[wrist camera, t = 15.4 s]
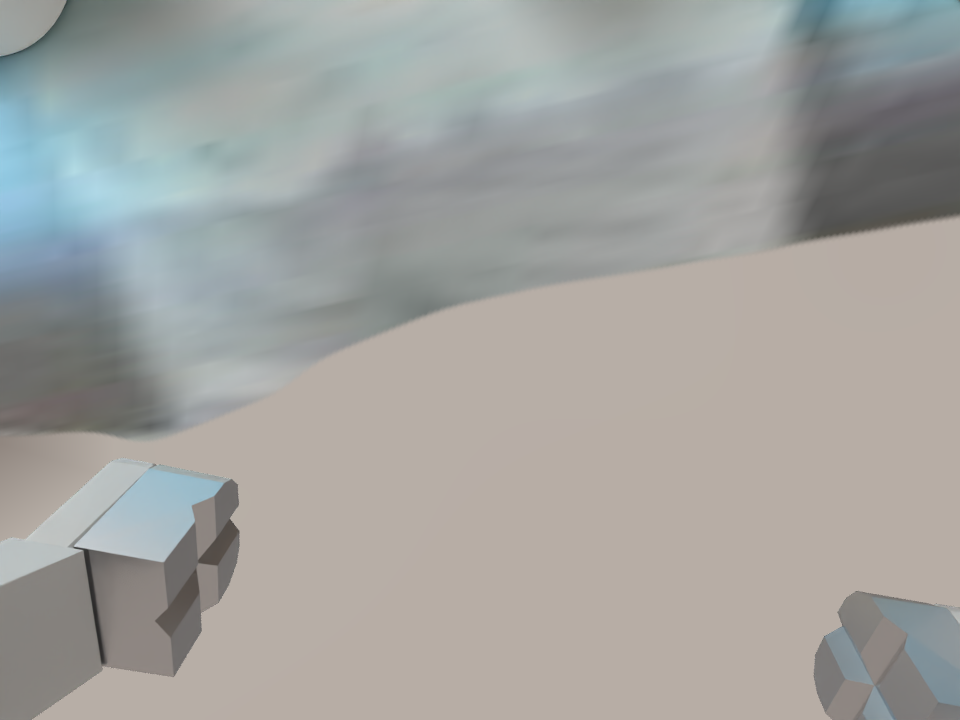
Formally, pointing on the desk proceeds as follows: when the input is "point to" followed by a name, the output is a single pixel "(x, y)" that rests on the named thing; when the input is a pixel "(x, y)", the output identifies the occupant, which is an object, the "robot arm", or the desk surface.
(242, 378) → the desk surface
